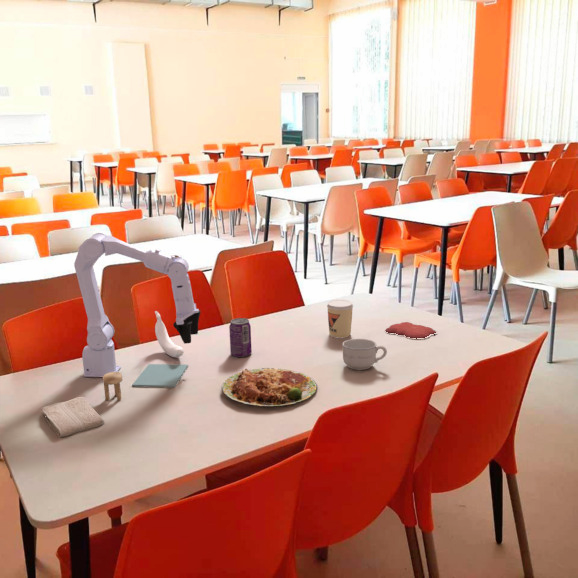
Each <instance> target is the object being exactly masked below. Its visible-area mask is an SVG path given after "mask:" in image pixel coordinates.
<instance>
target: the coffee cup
mask: <svg viewBox="0 0 578 578" xmlns="http://www.w3.org/2000/svg"><path fill="white" fill-rule="evenodd" d="M326 307H327V320H328V321H327V322H328V332H329V336H330V337H332V338H334V337H338V338H337V339H343V338H342V337H346V338H348V336H349V335H350V336H351V333H352V322H353V321H352V320H353V307H354V304H353V302H352V301H350V300H346V299H333V300H330V301H328V302H327V304H326ZM350 336H349V337H350Z"/></svg>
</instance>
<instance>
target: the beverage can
mask: <svg viewBox="0 0 578 578" xmlns="http://www.w3.org/2000/svg"><path fill="white" fill-rule="evenodd" d="M228 328H229V345H230V355H232V356H234V357H236V358H245V357H248V356H250V355H251V354H252V331H251V330H252V328H251V323H250V319H248V318H246V317H245V318H243V317H237V318H233V319H231V320H230V324H229V327H228Z"/></svg>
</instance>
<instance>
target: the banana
mask: <svg viewBox="0 0 578 578" xmlns="http://www.w3.org/2000/svg"><path fill="white" fill-rule="evenodd" d="M154 314H155V316H156V323H155V325H154V332H155V336H156V340H157V342H158V344H159V346H160V347H161V349H162V350H163V351H164V353H166V354H167V355H168V356H170V357H172V358H180V357H182V356H183V355H184V352H185V351H184V348H183V347H181V345H176V344H175V343H174V342H173V341H172V339H171V338H170V336H169V334H168V333H169V332H168V330H167V328H166V325H165V323H164V322H163V320H162V318H161V314H160V313H159V311H157V310H155V311H154Z"/></svg>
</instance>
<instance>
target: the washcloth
mask: <svg viewBox="0 0 578 578" xmlns="http://www.w3.org/2000/svg"><path fill="white" fill-rule="evenodd" d="M41 410H42V411H41V412H42V414H43V417H44V416H46V418H45V417H44V419H45V421H46V420H47V421H46V422H47V423H48V425H49V426H50V427H51V428H52V429H53V431H54V433H56V435H57V436H58V437H59V438H64V437H67V436H70V435H74V434H75V433H79V432H83V431H87V430H90V429H92V428H96V427H100V426H101V425H103V424H104V423H105V422H104V420H103V417H102V416H101V415H100V414H99V413H98V412H97V411H96V410H95V409H94V407H92V406H91V404H90V403H89V402H88V401H87V400H86V398H84V397H83V396H78V397H74V398H72V399H69V400H67V401H62V402H55V403H52V404H49V405H45V406H43V407H42V409H41Z"/></svg>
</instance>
